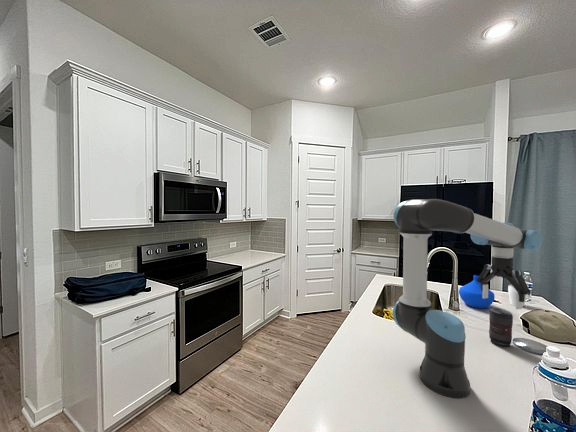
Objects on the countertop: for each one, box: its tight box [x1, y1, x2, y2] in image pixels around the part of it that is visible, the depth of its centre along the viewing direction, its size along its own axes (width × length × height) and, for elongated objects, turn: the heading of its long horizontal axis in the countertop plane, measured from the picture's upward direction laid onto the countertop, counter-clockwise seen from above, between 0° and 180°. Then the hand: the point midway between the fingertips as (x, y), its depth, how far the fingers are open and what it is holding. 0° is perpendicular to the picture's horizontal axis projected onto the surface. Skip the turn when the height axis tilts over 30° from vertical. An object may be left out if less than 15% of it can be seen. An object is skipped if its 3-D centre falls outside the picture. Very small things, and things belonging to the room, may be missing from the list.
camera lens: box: [488, 308, 514, 349], centre depth 113 cm, size 8×8×15 cm
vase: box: [458, 274, 496, 309], centre depth 159 cm, size 18×18×19 cm
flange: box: [512, 337, 548, 356], centre depth 110 cm, size 12×12×1 cm
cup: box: [507, 284, 528, 308], centre depth 161 cm, size 9×9×12 cm
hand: (501, 303), depth 113 cm, fingers open, 13 cm apart
